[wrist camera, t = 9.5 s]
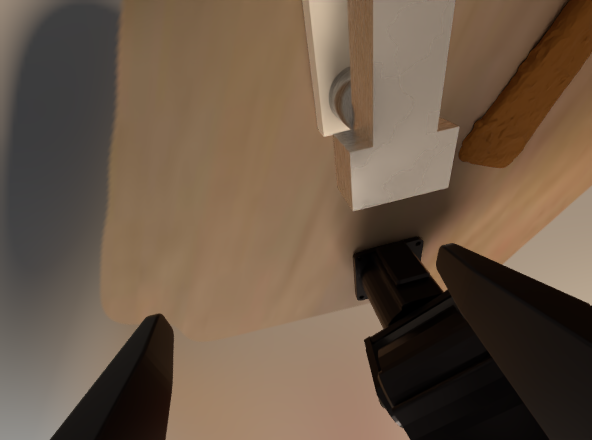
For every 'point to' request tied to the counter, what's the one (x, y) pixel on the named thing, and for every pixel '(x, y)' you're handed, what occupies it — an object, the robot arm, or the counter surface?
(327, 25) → the peg rack
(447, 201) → the counter surface
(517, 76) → the primitive tool
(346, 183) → the spanner
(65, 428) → the robot arm
